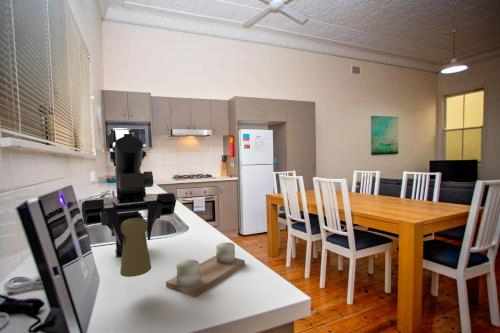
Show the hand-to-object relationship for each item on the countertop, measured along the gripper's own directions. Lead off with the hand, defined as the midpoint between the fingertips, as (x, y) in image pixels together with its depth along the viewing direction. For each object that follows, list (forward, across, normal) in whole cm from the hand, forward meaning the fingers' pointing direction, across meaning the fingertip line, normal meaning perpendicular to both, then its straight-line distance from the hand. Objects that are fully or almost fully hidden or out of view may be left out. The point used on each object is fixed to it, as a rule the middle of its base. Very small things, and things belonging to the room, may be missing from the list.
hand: (135, 241), depth 54 cm
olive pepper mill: (+4, 0, +6) cm, 7 cm away
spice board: (+6, +17, +11) cm, 21 cm away
